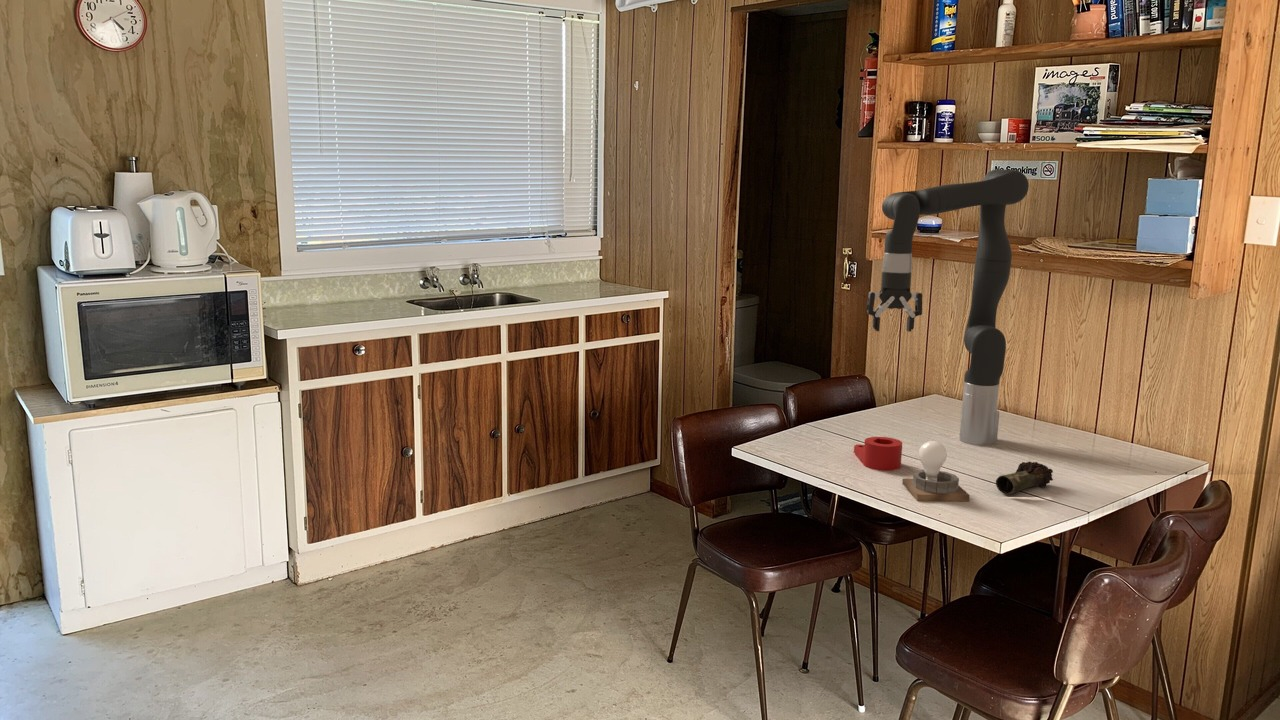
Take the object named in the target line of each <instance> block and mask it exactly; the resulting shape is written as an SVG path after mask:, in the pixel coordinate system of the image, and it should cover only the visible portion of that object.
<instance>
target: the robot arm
mask: <svg viewBox="0 0 1280 720" xmlns="http://www.w3.org/2000/svg"><path fill="white" fill-rule="evenodd" d="M1029 187H1030V186H1029V180H1028V177H1027V176H1026V175H1025V174H1024V173H1023V172H1021V171H1019V170H1015V169H992V170H990V171H988V172H987V173H986V174H985V176H984V177H983V179H982V180H981V181H975V182H964V183H961V182H960V183H951V184H944V185H938V186H933V187H928V188H923V189H919V190H918V189H917V190H909V191H900V192H899V191H898V192H893V193H891V194H889V195H887V197H885V198H884V199H883V202H882V205H881V210H882V214H883V215H884V216H885V217H886V218H887V219H890V220H893V225H892V229H890V230H888V231H887V232H886V233H885V238H884V248H883V249H884V250H883V251H884V253H883V258H882V263H881V264H882V266H881V267H882V268H881V283H880V285H881V286H880V291H879V292H874V291H871V290H870V291H868V294H867V301H866V311H865V313H866V314H867V315H870V316H872V329H874V331H875V332H880V325H881V317H880V316H881V315H882V314H883V313H884V312H885V311H886V310H887V309H889V310H892V309H897V310H902V309H903V310H904V312H905V313H906V314H907V318H906V332H909V333H910V332H912V330H914V328H915V318H916V317H919V316H922V315H923V293H922V292H918V291H916V292H911V286H912V285H911V284H912V283H911V282H912V272H913V271H912V270H913V256H912V254H913V238H914V235H915V232H916V230H917V226H918V221H919V219H920V216H922V215H923V216H932V215H937V214H943V213H947V212H951V211H958V210H961V209H962V210H963V209H966V208H971V207H977V206H979V228H978V235H977V236H978V237H977V247H976V255H975V263H974V270H973V271H974V272H973V281H972V289H971V303H970V307H969V308H970V309H969V313H968V319H967V322H966V326H965V331H964V335H963V343H964V347H965V349H966V350H967V352H968V353H969V354H971V355H970V361H969V362H970V363H969V367H968V369H967V370H966V371H965V373H964V379H963V391H962V404H961V413H960V414H961V417H960V428H959V441H960V442H961V443H962V444H967V445H972V446H990V445H991V446H992V445H997V444H998V434H999V433H998V432H999V422H1000V421H999V420H1000V411H999V410H998V404H999V403H998V400H999V390H1000V389H999V388H1000V381H1001V380H1000V379H1001V377H1002V375H1003V373H1004V367H1005V365H1004V364H1005V360H1006V359H1005V358H1006V350H1007V343H1006V341H1007V340H1006V337H1005V335H1004V333H1003V332H1002V330H1000V329H998V328H996V325H997V324H996V323H997V312H998V311H997V310H998V307H999V303H1000V301H1001V299H1002V296H1003V294H1004V291H1005V290H1006V288H1007V285H1008V283H1009V281H1010V280H1009V279H1010V276H1011V275H1010V274H1011V267H1012V256H1013V255H1012V253H1013V252H1012V247H1011V243H1010V240H1009V238H1008V235H1007V234H1008V233H1007V230H1006V225H1005V215H1006V208H1007V207H1006V206H1009V205H1015V204H1017V203H1020V202H1021V201H1023V200H1024V199H1025V197H1026V196H1027V194H1028V192H1029V189H1030V188H1029ZM878 298H879V299H880V303H879V304H878V306H877V307H876V308H875V310H874V307H875V301H877V300H878ZM911 298H912V300H913V301H914V311H913V309H912V307H911V306H910V305H909V303H908V302H909V301H910V300H911Z"/></svg>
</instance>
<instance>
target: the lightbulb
mask: <svg viewBox="0 0 1280 720" xmlns="http://www.w3.org/2000/svg"><path fill="white" fill-rule="evenodd" d="M947 452H948V451H947V450H946V447H945V446H944V444H942V443H940V442H939V441H936V440H935V441H934V440H930V441H925V442H924V443H923V444H922V445H921V446H920V447H919V450H918V458H919V461H920V463H921V465H922V467H923V470H924V471H925V473H926V480H930V481H936V482H937V476H938V473H939V471H941V468H942V467H943V465H944V464H945V462H946V461H947V457H948V453H947Z"/></svg>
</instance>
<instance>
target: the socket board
mask: <svg viewBox="0 0 1280 720" xmlns="http://www.w3.org/2000/svg"><path fill="white" fill-rule="evenodd" d="M959 482H960V478H959V477H958V476H957V475H955V474H953V473H950V472H947V471H941V470H939V473H938V476H937V482H936V481H930V480H926V473H925V471H924V469H923V470H917V471H915V472H914V473H913V476H912V478H902V483H901V484H902V485H903V486H904V488H906V490H907V492H909V493H910V494H911V496H912V497H913V499H915V500H916V501H917V502H919V501H920V502H970V494H969V493H968V492H967V491H966V490H964V489H963V487H961V485H959Z"/></svg>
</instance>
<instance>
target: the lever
mask: <svg viewBox="0 0 1280 720" xmlns="http://www.w3.org/2000/svg"><path fill="white" fill-rule="evenodd" d="M854 453H855V454H854ZM853 454H854V455H855V456H856V457H857V459H858V460H859V461H860V463H862V465H863V466H864V467H865V468H867V469H871V470H875V471H881V472H883V471H884V472H885V471H886V472H887V471H897V470H900V468H902V455H903V441H902V440H899V439H896V438H892V437H887V436H871V437H866V438H865V439H864V444H854V445H853Z"/></svg>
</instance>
